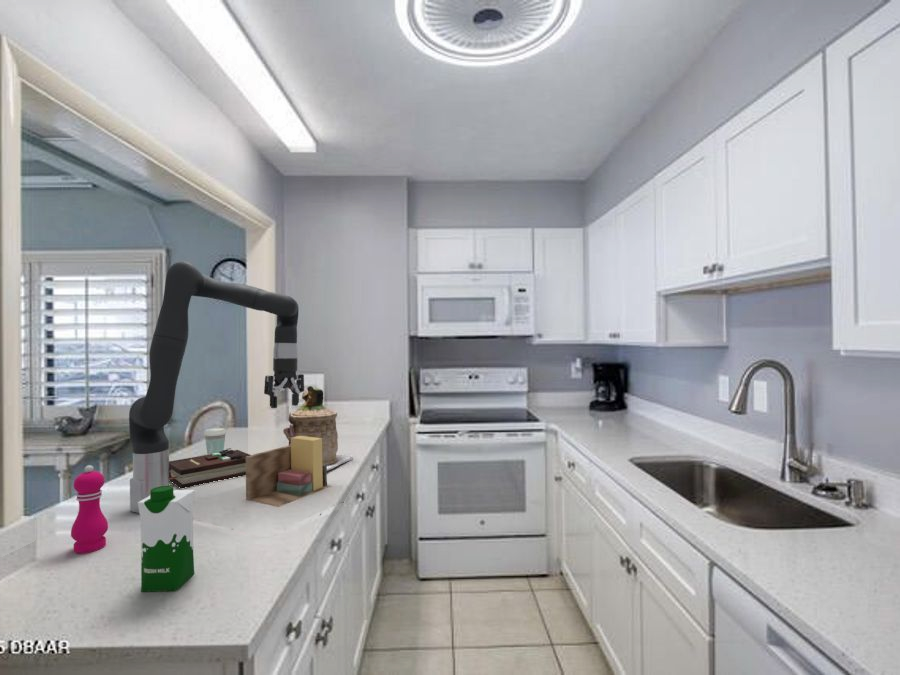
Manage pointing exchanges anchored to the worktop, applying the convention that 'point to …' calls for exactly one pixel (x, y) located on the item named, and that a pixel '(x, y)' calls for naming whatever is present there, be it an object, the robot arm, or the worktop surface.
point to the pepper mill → (89, 513)
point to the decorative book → (207, 468)
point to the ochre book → (308, 458)
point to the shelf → (277, 478)
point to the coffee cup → (215, 440)
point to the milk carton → (166, 539)
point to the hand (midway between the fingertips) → (284, 406)
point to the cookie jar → (317, 426)
